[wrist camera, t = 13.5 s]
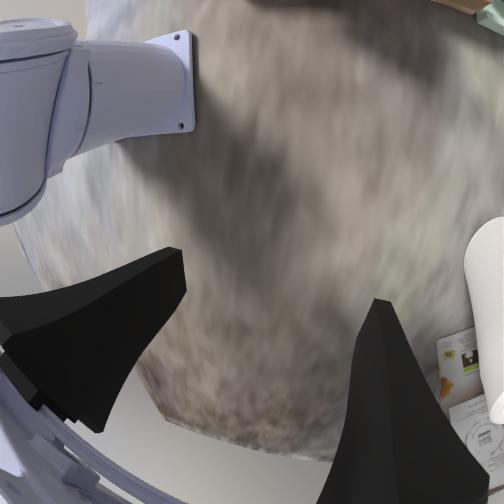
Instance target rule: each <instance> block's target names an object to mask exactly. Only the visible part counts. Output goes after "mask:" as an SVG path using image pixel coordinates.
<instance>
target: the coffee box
mask: <svg viewBox="0 0 504 504" xmlns="http://www.w3.org/2000/svg"><path fill="white" fill-rule="evenodd" d="M436 347H437V357H438V368H439V382H440V403H441V409H442V411H443V412H444V414H445V415H446V417H447V419H448V420H449V422H450V423H451V425H452V427H453V428H454V430H455V431H456V433H457V434H458V436H459V437H460V439H461V440H462V441H463V443H464V444H465V445H466V447H467V448H468V449H469V451H470V452H471V454H472V455H473V456H474V457H475V458H476V460H477V461H478V462H479V463H480V464H481V466H482V467H483V468H484V469H485V470H486V472H487V473H488V474H489V475H490V482H489V494H488V496H490V495H493V494H494V493H496V492H498V491H500V490H502V489H504V424H496V423H493V422H492V421H491V420H490V418H489V412H488V407H487V401H486V397H485V392H484V388H483V384H482V381H481V377H480V369H479V357H478V347H477V337H476V329H475V327H472V328H469V329H467V330H464V331H461V332H459V333H456V334H453V335H450V336H447V337H444V338H441V339H439V340H437V342H436Z"/></svg>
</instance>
